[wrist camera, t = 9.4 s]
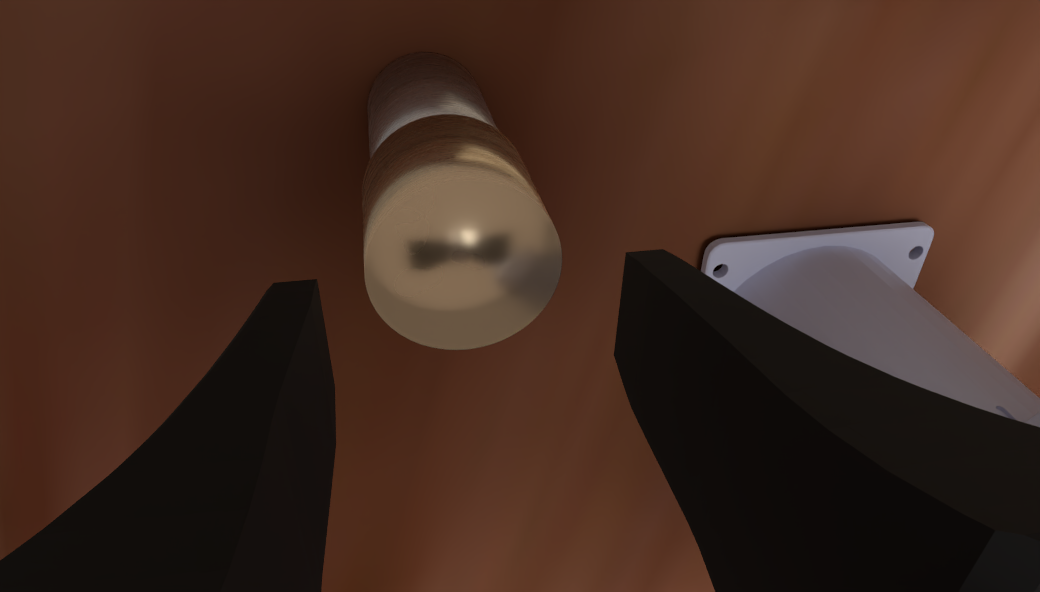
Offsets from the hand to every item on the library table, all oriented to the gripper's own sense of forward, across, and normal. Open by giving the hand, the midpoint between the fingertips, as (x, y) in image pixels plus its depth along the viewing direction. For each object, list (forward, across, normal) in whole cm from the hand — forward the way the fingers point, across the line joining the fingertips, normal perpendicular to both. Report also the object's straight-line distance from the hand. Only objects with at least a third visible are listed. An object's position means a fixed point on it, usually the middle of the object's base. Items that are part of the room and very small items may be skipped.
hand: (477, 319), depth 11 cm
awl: (+9, 0, 0) cm, 9 cm away
